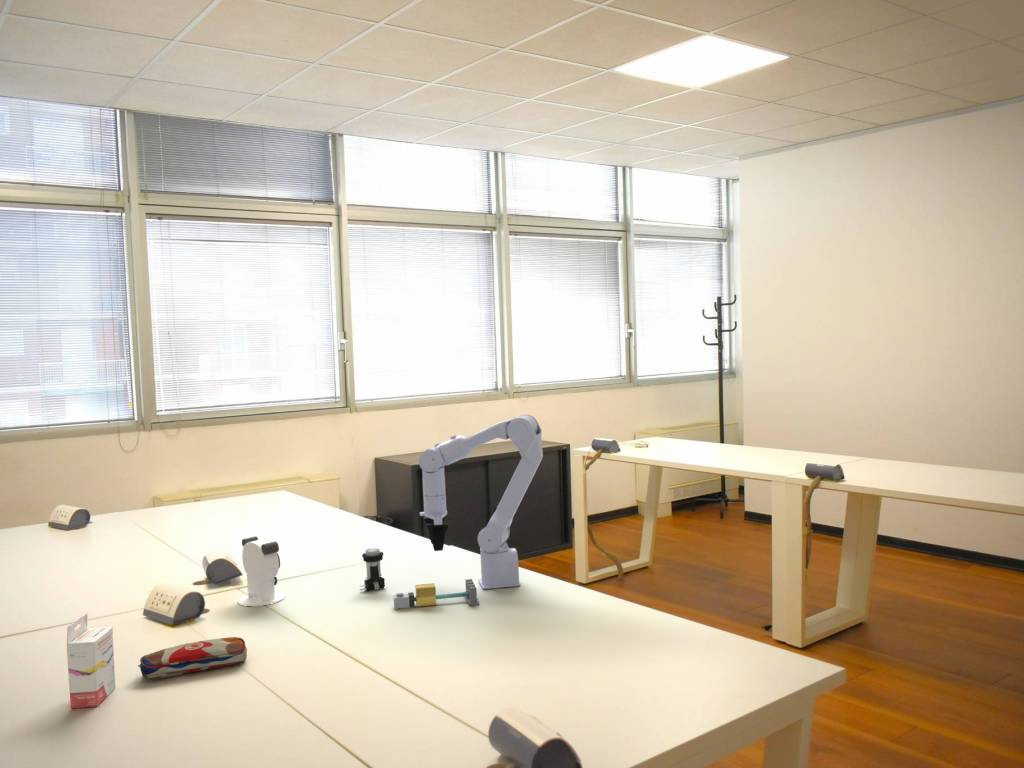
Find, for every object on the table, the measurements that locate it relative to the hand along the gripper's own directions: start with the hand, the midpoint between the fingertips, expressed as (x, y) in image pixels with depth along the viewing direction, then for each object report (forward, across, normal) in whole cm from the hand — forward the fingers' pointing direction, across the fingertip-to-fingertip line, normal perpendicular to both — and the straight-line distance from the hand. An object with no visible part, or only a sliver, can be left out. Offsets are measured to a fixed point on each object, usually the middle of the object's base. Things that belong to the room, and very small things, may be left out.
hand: (437, 547), depth 217 cm
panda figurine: (+10, 0, -44) cm, 45 cm away
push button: (+10, 0, -17) cm, 20 cm away
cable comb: (+9, +17, +6) cm, 20 cm away
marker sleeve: (+9, +17, -5) cm, 20 cm away
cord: (+9, +17, -2) cm, 20 cm away
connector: (+9, +17, -10) cm, 22 cm away
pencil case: (+10, +44, -52) cm, 69 cm away
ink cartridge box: (+10, +53, -68) cm, 87 cm away
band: (+9, +17, -8) cm, 21 cm away
